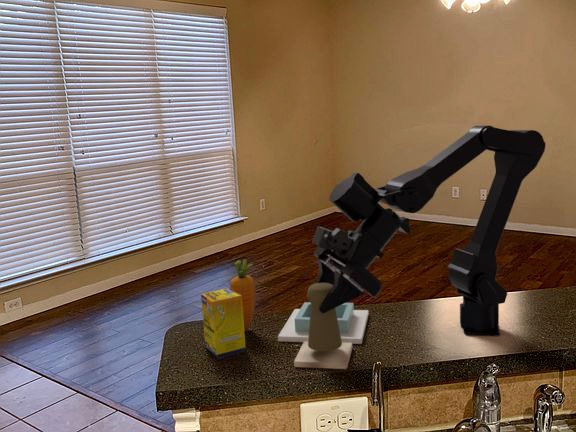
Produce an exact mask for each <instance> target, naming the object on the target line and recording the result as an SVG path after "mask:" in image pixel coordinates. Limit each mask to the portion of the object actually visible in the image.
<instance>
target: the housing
mask: <svg viewBox="0 0 576 432" xmlns="http://www.w3.org/2000/svg"><path fill="white" fill-rule="evenodd" d="M354 306H355V305H354V302H346V303H344V304H342V305H340V306H338V307H336V308H335V309H336V314H337V320H338V325H339V330H340V336H341V341H342V342H344V343H352V345H355V344H356V345H362V344H363V339H364V336H365V333H366V327H367V323H368V320H369V319H368V318H369V315H370V314H369V309H355V308H354ZM310 312H311V303H310V302H309V301H308V302H307V301H305V302H304V303H303V304H302V306H301V307H300V308H294V310H293V311H292V313H291V315H290V316H289V318H288V320H287V321H286V323H285V324H284V326H283V327H282V329H281V330H280V332H279V334H278V335H277V340H278V342H291V343H303V342H304V341H308V338H309V325H310Z"/></svg>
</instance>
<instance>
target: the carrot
mask: <svg viewBox="0 0 576 432" xmlns="http://www.w3.org/2000/svg"><path fill="white" fill-rule="evenodd" d="M242 261H243V262H242ZM242 261H241V260H237V261H236V262H235V263H234V264H233V265H234V267H235V268H236V273H237V276H234V277H233V278H232V279H230V283H229V285H230V286H229V287H230V289H231V290H232V291H234V292H235V293H237V294H239V295H241V296H242V303H243V318H244V332H245V331H246V330H247V331H248V330H249V329H250V326H251V324H252V322H253V318H254V313H255V308H256V307H255V306H256V281H255V279H254V278H253V277H251V276H250V275H247V274H248V272H249V271H250V269H252V267H254V264H253V263H249V264H248V265H247V261H248V259H243V260H242ZM247 331H246V332H247Z"/></svg>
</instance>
